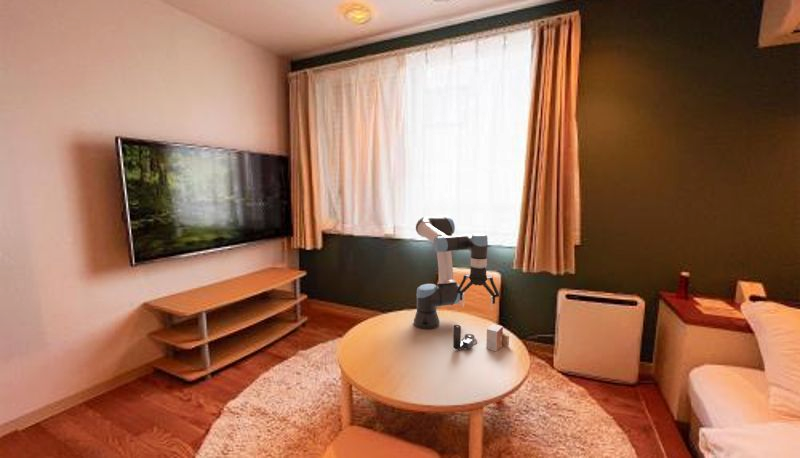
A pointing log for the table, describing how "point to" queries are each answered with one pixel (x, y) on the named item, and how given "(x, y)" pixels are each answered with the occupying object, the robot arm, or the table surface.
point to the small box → (494, 337)
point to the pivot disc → (473, 342)
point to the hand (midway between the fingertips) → (477, 308)
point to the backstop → (505, 340)
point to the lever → (457, 342)
